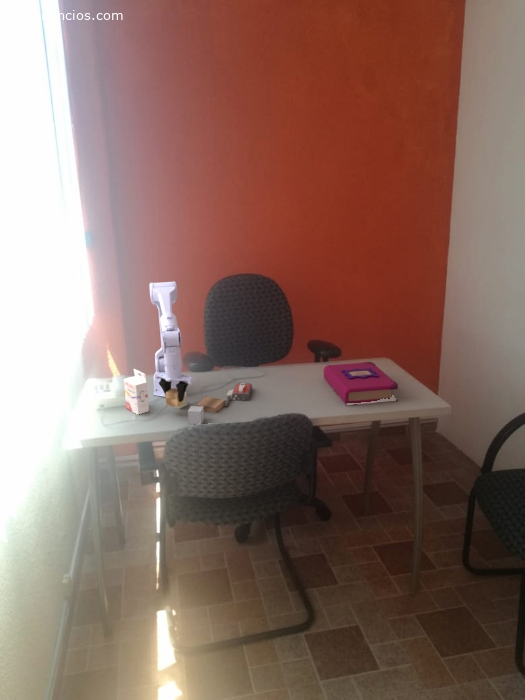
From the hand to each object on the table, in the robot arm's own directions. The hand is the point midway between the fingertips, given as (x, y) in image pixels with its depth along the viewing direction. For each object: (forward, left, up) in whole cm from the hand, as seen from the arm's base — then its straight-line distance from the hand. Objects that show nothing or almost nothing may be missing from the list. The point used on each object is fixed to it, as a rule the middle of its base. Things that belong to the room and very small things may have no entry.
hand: (175, 399), depth 198 cm
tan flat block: (+9, +10, -6) cm, 15 cm away
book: (+56, +46, -6) cm, 73 cm away
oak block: (0, 0, -2) cm, 2 cm away
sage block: (-3, +7, -6) cm, 9 cm away
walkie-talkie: (+15, +22, -6) cm, 27 cm away
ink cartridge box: (-15, -2, -6) cm, 16 cm away
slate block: (+10, -3, -6) cm, 12 cm away
